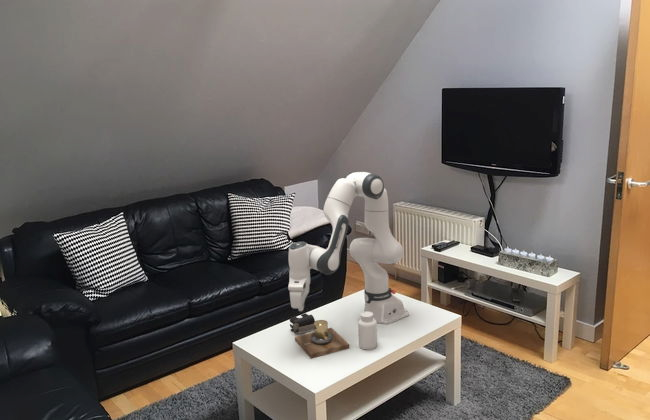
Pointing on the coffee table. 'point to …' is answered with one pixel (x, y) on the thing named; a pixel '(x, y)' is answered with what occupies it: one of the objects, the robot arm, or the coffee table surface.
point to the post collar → (321, 340)
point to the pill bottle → (367, 331)
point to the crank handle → (318, 327)
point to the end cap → (302, 320)
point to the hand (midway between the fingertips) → (301, 309)
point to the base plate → (320, 350)
